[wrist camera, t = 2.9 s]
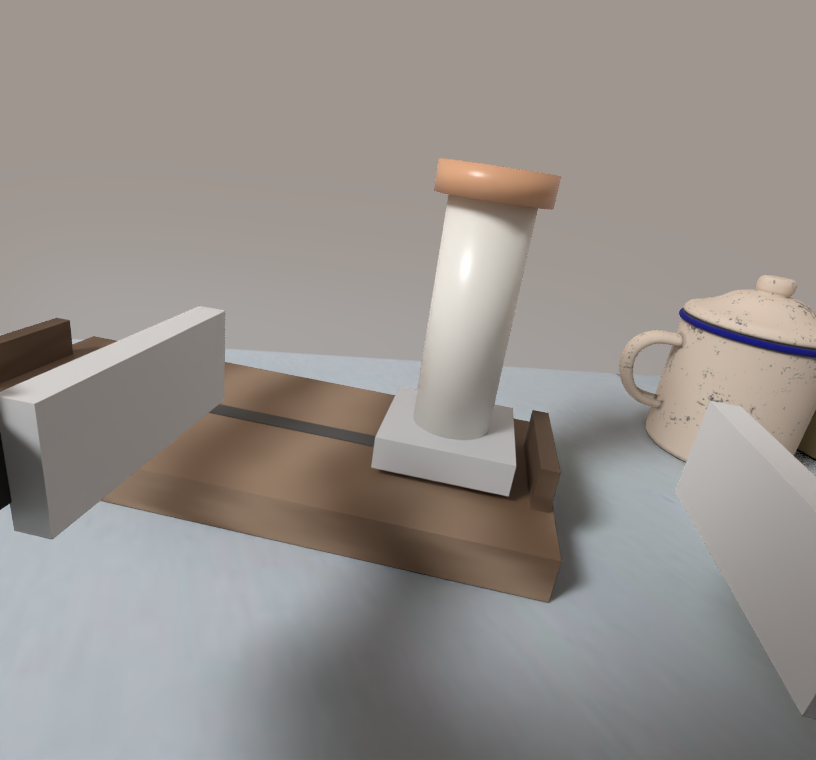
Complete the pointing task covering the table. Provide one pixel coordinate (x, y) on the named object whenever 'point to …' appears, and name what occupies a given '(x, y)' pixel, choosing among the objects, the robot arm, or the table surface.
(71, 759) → the table surface
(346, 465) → the fader track
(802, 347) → the teacup with lid
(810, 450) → the squeeze bottle
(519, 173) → the fader
